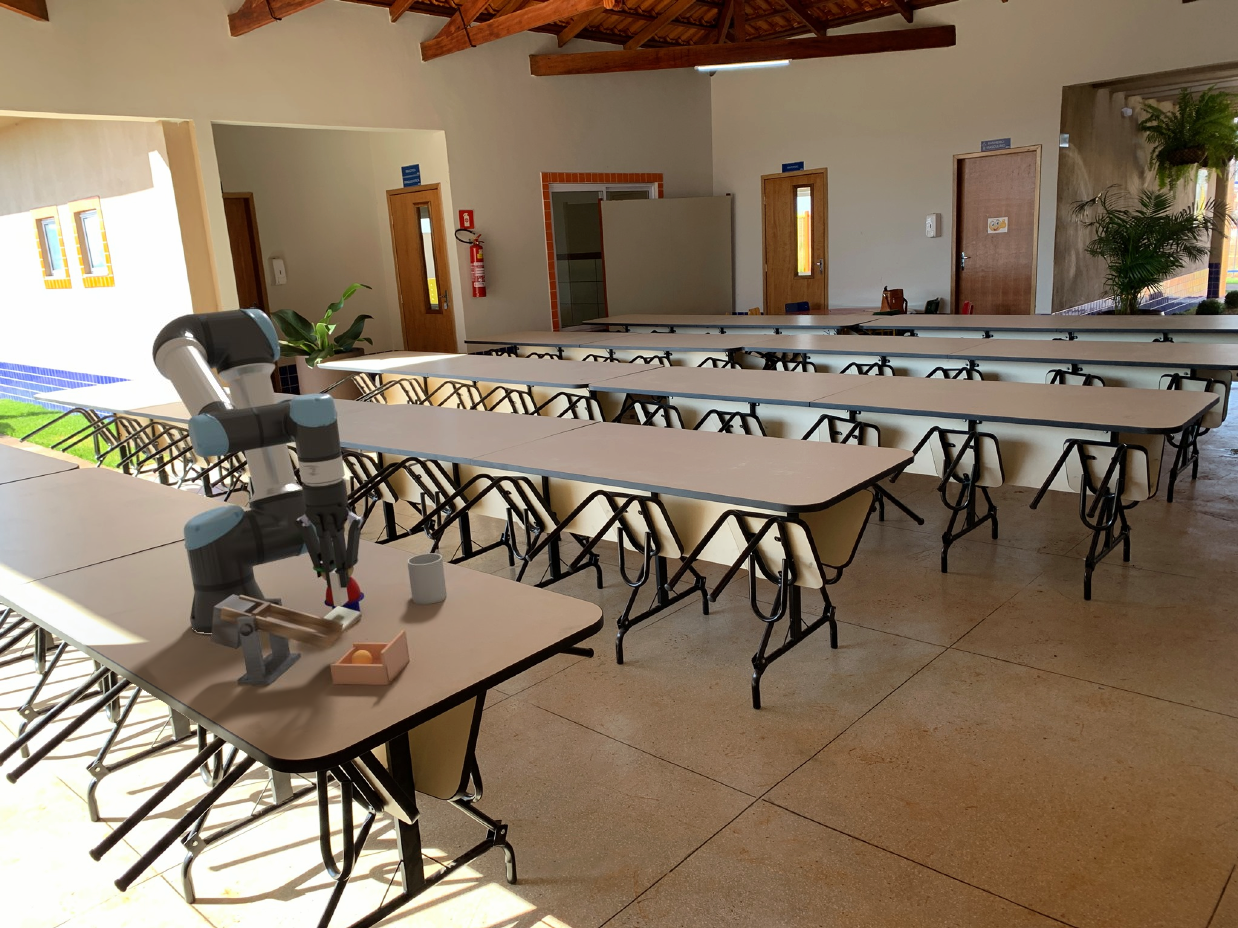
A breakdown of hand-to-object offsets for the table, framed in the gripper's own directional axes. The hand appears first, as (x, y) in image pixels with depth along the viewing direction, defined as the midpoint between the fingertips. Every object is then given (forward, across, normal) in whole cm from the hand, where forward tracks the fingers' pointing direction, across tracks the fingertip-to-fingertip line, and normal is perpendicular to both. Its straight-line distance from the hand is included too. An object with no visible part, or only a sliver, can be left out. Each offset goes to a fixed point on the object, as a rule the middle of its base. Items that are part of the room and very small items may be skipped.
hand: (341, 603), depth 168 cm
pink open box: (+9, +9, -9) cm, 16 cm away
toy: (+10, -9, +16) cm, 21 cm away
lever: (+6, -9, -5) cm, 12 cm away
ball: (+7, +7, -9) cm, 13 cm away
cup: (+10, +5, +26) cm, 28 cm away
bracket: (+9, -11, -9) cm, 17 cm away
